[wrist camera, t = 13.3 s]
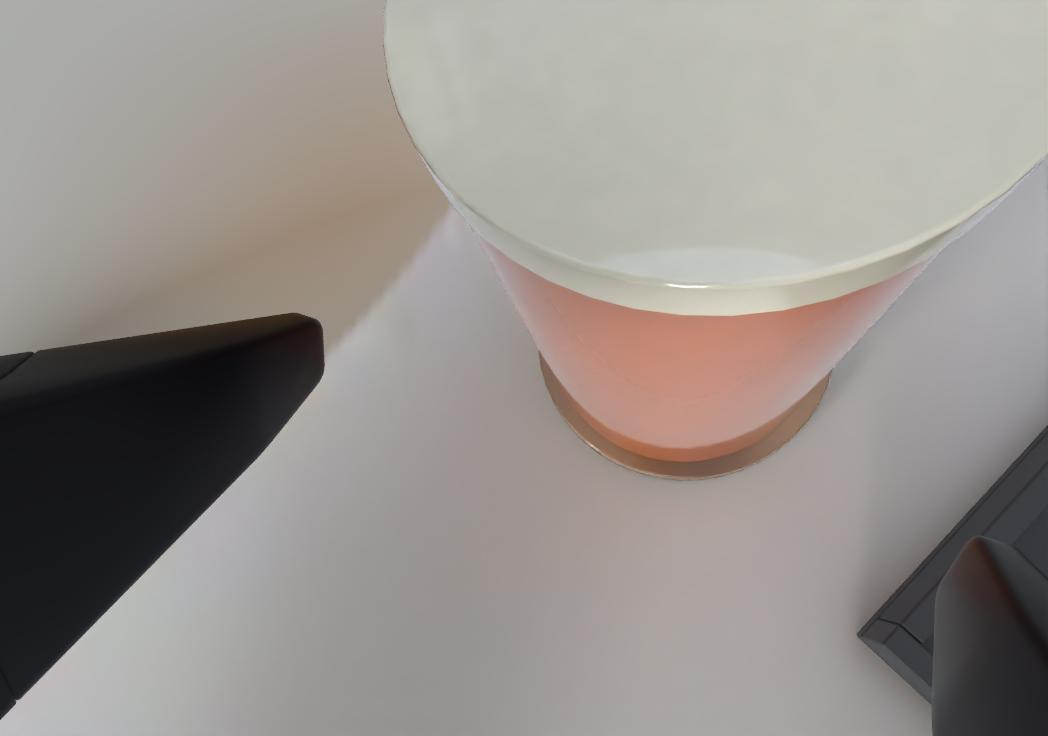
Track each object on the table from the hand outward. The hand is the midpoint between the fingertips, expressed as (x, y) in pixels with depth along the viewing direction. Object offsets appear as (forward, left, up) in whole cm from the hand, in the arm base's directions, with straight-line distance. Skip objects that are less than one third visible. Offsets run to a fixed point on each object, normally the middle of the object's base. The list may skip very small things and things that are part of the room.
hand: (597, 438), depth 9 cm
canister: (+3, +4, -9) cm, 10 cm away
